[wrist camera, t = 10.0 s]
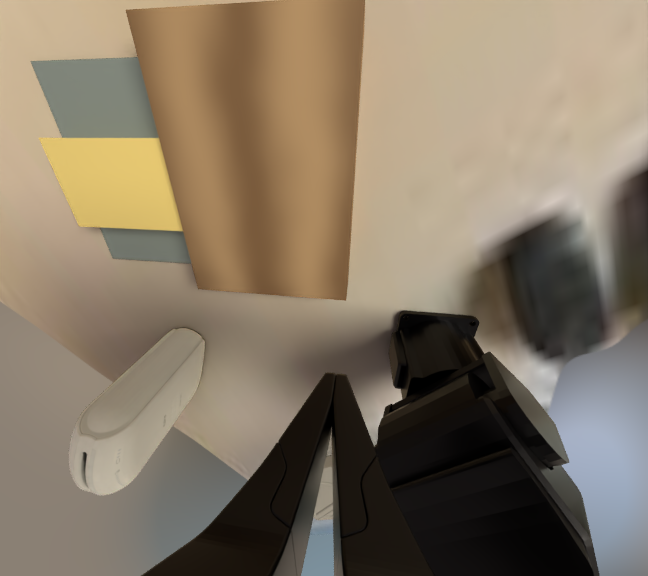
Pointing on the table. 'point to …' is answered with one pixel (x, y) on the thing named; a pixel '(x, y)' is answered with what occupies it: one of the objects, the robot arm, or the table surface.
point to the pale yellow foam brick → (115, 182)
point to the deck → (259, 137)
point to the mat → (109, 132)
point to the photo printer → (135, 414)
